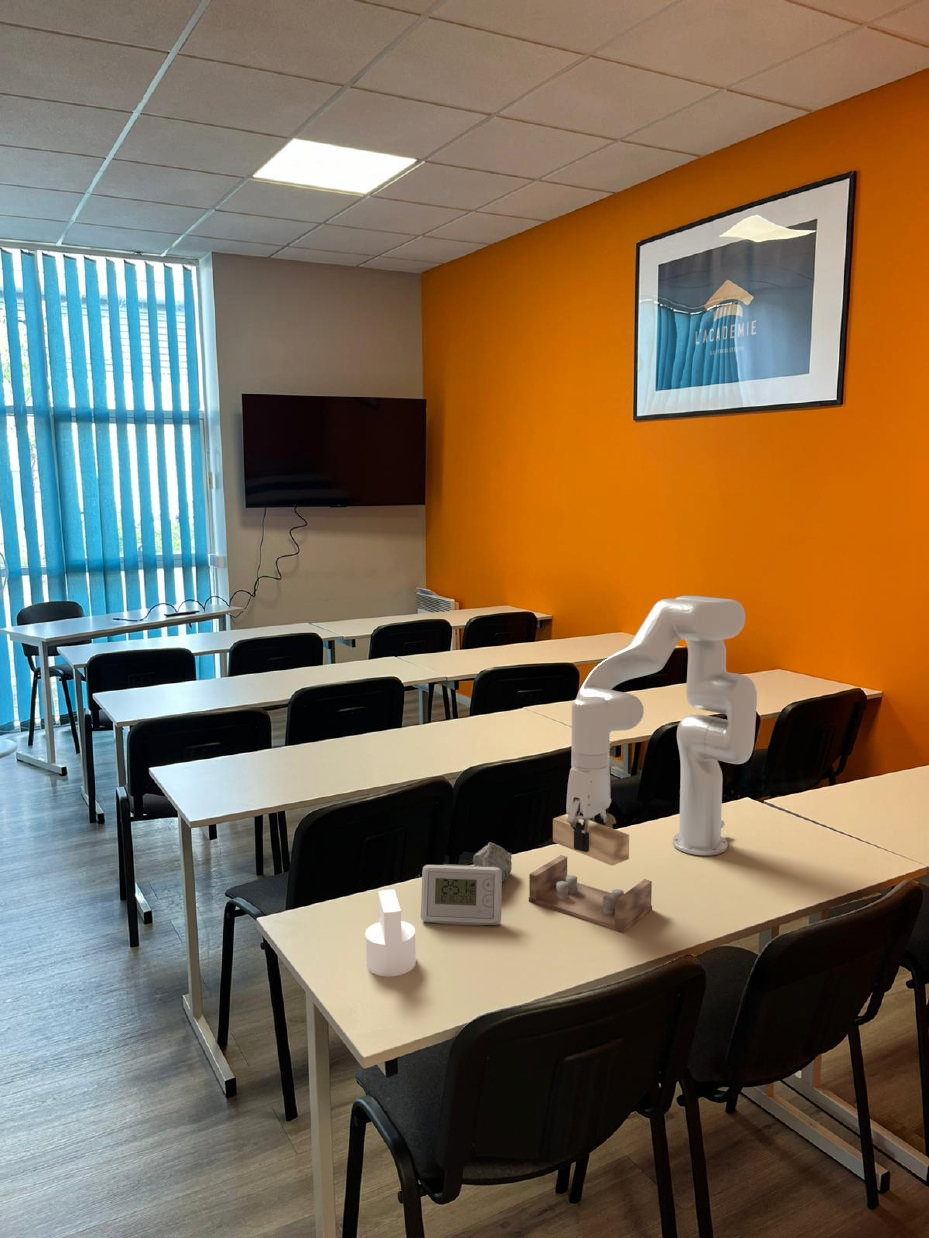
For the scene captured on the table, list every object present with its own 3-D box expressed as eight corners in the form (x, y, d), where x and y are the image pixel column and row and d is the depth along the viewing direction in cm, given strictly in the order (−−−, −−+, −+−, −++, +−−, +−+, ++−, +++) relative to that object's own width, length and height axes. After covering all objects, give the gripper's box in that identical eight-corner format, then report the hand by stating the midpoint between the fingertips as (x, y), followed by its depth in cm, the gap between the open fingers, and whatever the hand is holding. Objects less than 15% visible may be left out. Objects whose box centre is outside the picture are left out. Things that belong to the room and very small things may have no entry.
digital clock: (416, 923, 177) (415, 872, 176) (432, 903, 186) (431, 854, 184) (495, 935, 172) (494, 882, 170) (508, 914, 180) (507, 864, 179)
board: (569, 835, 189) (569, 812, 189) (628, 858, 177) (629, 834, 176) (552, 841, 186) (553, 818, 185) (612, 865, 174) (612, 841, 173)
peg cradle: (560, 880, 195) (560, 854, 194) (652, 909, 181) (652, 881, 180) (528, 901, 186) (528, 873, 185) (623, 932, 172) (623, 903, 171)
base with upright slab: (419, 972, 159) (418, 909, 157) (369, 979, 157) (366, 914, 155) (412, 947, 168) (410, 887, 166) (363, 953, 166) (361, 892, 164)
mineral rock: (506, 869, 201) (505, 826, 200) (533, 887, 192) (532, 842, 191) (456, 882, 195) (455, 838, 194) (481, 902, 186) (480, 856, 184)
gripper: (596, 746, 188) (595, 828, 190) (550, 766, 175) (550, 854, 177) (628, 752, 183) (626, 836, 186) (584, 773, 170) (583, 863, 173)
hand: (589, 844), depth 181 cm, fingers closed on board, 5 cm apart
